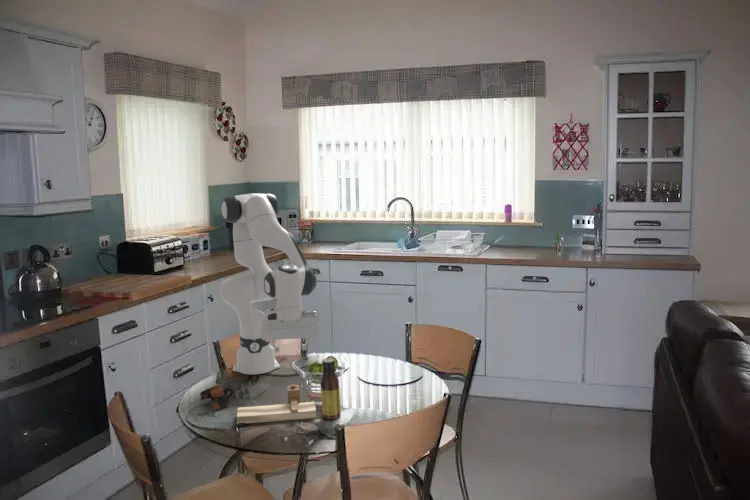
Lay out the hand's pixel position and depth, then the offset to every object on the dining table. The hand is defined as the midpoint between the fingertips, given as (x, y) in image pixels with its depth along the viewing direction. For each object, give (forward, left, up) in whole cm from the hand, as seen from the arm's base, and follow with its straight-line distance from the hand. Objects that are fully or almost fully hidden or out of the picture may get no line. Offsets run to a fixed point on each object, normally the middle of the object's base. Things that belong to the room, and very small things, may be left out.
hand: (290, 350), depth 236 cm
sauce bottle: (+14, +12, -20) cm, 27 cm away
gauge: (+8, 0, -20) cm, 21 cm away
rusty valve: (-5, -26, -20) cm, 33 cm away
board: (+10, -6, -20) cm, 23 cm away
